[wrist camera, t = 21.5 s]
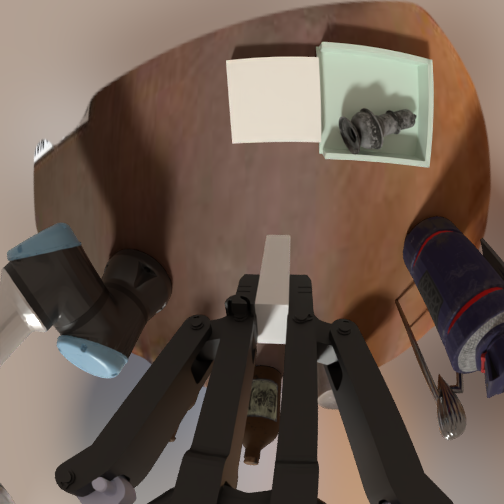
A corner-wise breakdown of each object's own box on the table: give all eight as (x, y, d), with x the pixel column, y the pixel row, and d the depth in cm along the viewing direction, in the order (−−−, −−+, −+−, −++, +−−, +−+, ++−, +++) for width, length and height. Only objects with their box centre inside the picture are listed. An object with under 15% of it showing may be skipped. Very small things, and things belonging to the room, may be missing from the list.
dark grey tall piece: (345, 152, 35) (409, 131, 34) (364, 161, 30) (433, 138, 29) (333, 113, 32) (400, 95, 31) (351, 116, 27) (424, 97, 26)
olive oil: (277, 388, 69) (268, 470, 48) (239, 380, 69) (223, 463, 48) (288, 368, 64) (282, 461, 42) (247, 360, 64) (229, 454, 42)
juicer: (395, 299, 49) (435, 438, 23) (440, 295, 47) (492, 418, 22) (385, 332, 54) (410, 458, 28) (427, 328, 52) (463, 443, 27)
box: (319, 153, 37) (322, 158, 34) (315, 47, 29) (318, 41, 25) (418, 160, 35) (429, 167, 31) (420, 62, 27) (432, 60, 23)
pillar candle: (335, 365, 61) (340, 418, 48) (306, 351, 59) (306, 408, 46) (365, 344, 56) (375, 399, 44) (335, 328, 55) (343, 388, 42)
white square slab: (235, 140, 38) (232, 143, 36) (230, 62, 32) (226, 60, 29) (319, 139, 36) (321, 142, 34) (316, 59, 30) (318, 57, 28)
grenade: (411, 281, 46) (466, 420, 21) (390, 235, 42) (464, 391, 17) (467, 246, 40) (547, 366, 15) (453, 195, 36) (565, 315, 11)
